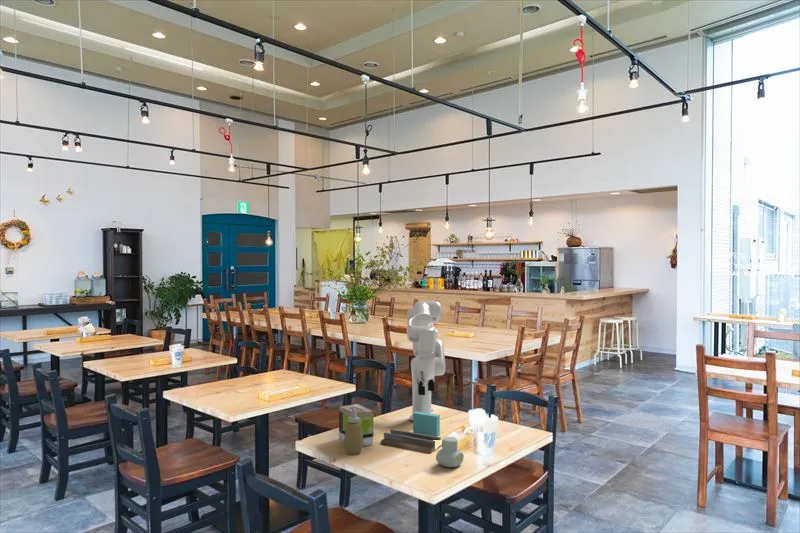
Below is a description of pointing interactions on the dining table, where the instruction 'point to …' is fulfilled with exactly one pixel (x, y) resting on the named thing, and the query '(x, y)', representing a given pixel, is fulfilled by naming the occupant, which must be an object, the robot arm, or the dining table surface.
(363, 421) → the tea box
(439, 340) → the robot arm
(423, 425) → the door panel
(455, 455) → the grey rounded branched piece
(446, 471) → the dining table surface
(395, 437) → the track
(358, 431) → the squeeze bottle
